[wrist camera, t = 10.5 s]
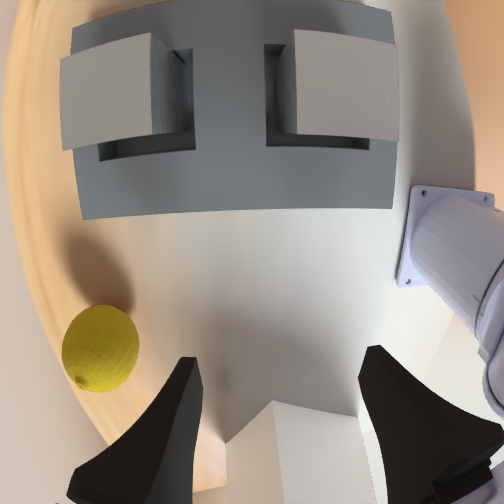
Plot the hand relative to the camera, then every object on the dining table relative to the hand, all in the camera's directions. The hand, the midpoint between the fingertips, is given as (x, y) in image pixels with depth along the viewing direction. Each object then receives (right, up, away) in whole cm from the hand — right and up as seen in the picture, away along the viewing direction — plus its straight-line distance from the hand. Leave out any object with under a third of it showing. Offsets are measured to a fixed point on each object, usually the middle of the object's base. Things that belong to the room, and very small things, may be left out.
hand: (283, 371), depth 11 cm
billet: (+2, +14, +4) cm, 14 cm away
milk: (+3, -17, +18) cm, 25 cm away
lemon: (-12, 0, +10) cm, 16 cm away
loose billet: (-7, +14, +3) cm, 16 cm away
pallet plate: (-3, +14, +4) cm, 15 cm away
